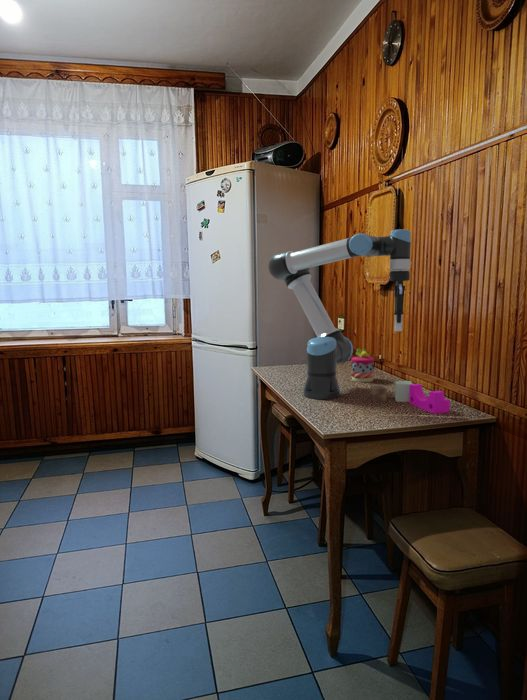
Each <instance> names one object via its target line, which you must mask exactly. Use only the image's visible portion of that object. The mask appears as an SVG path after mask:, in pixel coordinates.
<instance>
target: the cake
mask: <svg viewBox="0 0 527 700" xmlns="http://www.w3.org/2000/svg"><path fill="white" fill-rule="evenodd" d="M350 361H351V363H350V364H351V365H350V366H351V372H350V376H351V381H353V382H356V383H357V382H358V383H370V382H373V381H374V376H375V373H374V370H375V358H374V357H371V354H370V353H368V352H367V349H366V348H363V349H362V350H361V348H357V349H356V352H355V356H354V357H351V358H350Z"/></svg>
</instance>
